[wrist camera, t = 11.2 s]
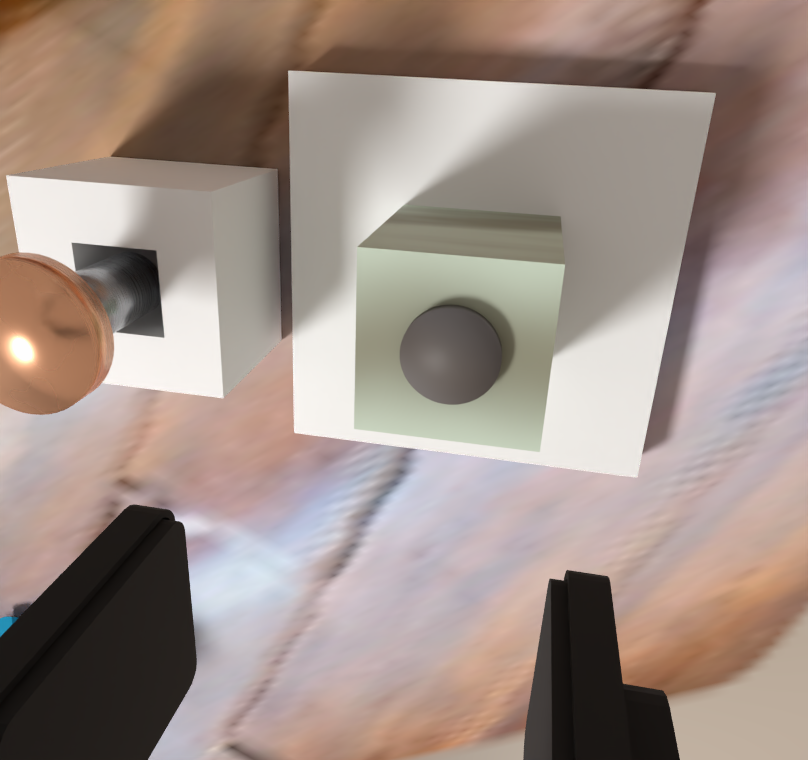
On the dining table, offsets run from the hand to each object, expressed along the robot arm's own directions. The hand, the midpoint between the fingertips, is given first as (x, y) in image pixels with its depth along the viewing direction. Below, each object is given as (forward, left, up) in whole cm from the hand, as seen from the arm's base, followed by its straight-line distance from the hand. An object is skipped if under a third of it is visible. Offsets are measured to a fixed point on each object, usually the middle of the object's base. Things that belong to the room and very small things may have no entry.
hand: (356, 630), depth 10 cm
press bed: (0, -4, -19) cm, 20 cm away
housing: (0, 0, -18) cm, 18 cm away
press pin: (0, -11, -14) cm, 18 cm away
